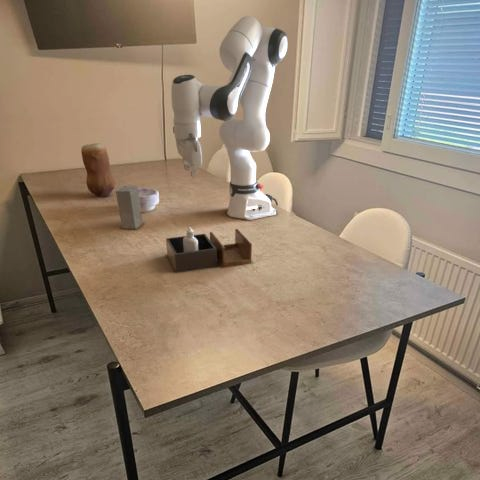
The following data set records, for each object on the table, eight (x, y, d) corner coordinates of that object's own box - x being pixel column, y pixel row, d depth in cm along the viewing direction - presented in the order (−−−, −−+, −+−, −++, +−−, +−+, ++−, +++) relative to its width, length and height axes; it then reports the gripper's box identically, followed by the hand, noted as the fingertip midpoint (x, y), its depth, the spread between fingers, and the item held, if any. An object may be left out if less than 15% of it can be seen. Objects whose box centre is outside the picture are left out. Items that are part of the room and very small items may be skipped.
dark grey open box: (205, 250, 161) (204, 233, 157) (217, 266, 149) (216, 248, 146) (167, 255, 156) (165, 238, 153) (176, 272, 145) (174, 254, 141)
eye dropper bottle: (188, 263, 150) (186, 230, 143) (183, 256, 154) (181, 225, 147) (199, 261, 151) (198, 229, 145) (194, 254, 156) (193, 223, 149)
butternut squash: (94, 191, 219) (85, 140, 206) (120, 192, 219) (112, 140, 205) (85, 200, 208) (74, 146, 194) (112, 201, 207) (104, 146, 194)
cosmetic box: (136, 230, 176) (131, 192, 168) (120, 228, 178) (114, 190, 169) (144, 223, 183) (139, 186, 175) (128, 221, 185) (123, 184, 176)
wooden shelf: (237, 246, 164) (237, 228, 160) (251, 262, 152) (252, 243, 148) (209, 250, 161) (209, 231, 157) (222, 267, 149) (221, 247, 145)
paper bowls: (147, 201, 208) (146, 185, 203) (166, 209, 199) (164, 192, 194) (120, 208, 199) (117, 191, 194) (138, 216, 190) (136, 199, 185)
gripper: (205, 136, 135) (207, 180, 143) (189, 125, 151) (191, 165, 159) (186, 138, 133) (189, 182, 141) (171, 126, 149) (175, 167, 157)
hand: (190, 173), depth 150 cm, fingers open, 8 cm apart
